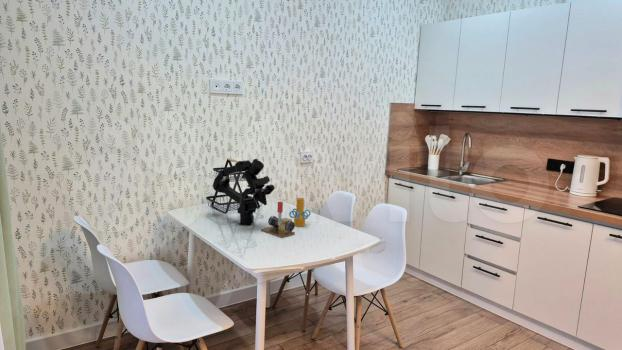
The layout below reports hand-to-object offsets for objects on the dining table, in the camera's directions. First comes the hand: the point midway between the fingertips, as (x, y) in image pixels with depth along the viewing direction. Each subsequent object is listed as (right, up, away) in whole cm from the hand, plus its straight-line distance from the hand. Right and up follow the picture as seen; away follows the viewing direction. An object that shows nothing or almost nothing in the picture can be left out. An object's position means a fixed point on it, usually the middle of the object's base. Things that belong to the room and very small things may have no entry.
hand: (265, 204), depth 223 cm
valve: (+6, -14, -1) cm, 16 cm away
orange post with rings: (+17, -12, +13) cm, 25 cm away
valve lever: (+8, -9, -6) cm, 13 cm away
